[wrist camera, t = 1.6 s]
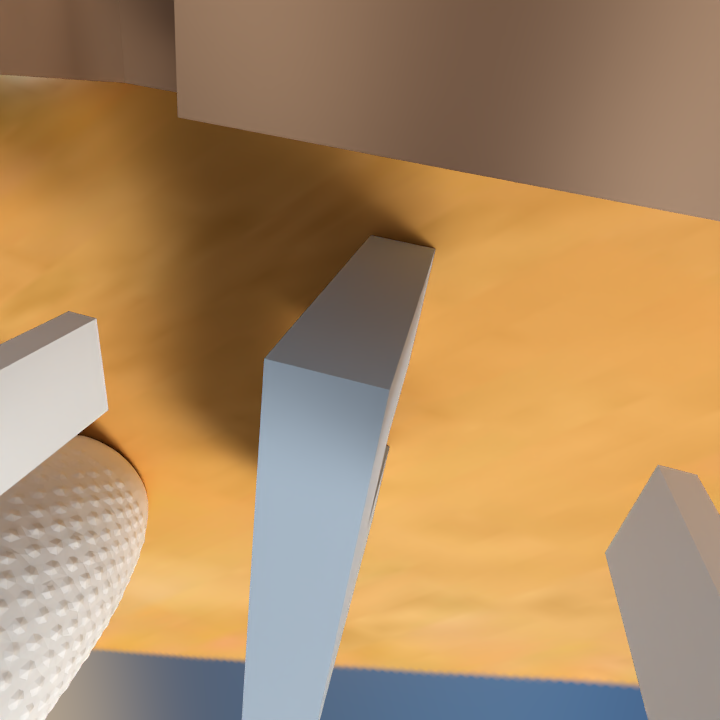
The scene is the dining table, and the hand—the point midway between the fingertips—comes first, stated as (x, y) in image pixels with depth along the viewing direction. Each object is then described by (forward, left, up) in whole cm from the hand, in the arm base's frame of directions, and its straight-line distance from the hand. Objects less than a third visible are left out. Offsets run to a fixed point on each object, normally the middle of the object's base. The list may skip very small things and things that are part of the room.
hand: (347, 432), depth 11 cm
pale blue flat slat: (0, -5, -8) cm, 10 cm away
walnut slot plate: (-5, +7, -8) cm, 12 cm away
